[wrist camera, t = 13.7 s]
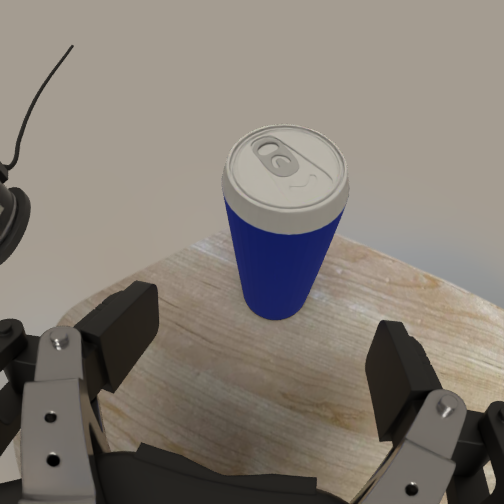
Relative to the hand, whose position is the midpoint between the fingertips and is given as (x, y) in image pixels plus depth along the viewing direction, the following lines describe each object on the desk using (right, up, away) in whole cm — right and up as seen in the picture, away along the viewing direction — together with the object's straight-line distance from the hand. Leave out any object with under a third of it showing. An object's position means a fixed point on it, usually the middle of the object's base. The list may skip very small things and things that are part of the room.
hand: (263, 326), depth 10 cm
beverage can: (+2, -1, +14) cm, 14 cm away
